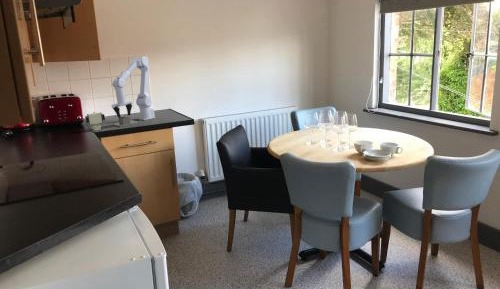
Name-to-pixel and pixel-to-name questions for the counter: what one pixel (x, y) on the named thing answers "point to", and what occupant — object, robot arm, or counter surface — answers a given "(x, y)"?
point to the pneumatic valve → (95, 120)
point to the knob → (124, 119)
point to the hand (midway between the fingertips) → (124, 116)
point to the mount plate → (125, 124)
